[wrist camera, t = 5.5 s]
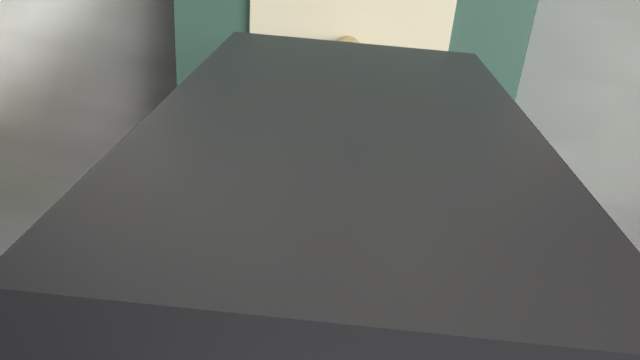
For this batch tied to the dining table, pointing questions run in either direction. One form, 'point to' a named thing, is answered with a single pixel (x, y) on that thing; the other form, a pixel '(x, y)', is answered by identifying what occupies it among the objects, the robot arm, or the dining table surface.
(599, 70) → the dining table surface
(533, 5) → the header board
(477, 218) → the block
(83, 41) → the dining table surface
